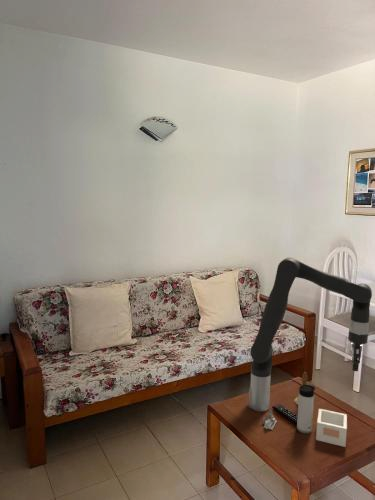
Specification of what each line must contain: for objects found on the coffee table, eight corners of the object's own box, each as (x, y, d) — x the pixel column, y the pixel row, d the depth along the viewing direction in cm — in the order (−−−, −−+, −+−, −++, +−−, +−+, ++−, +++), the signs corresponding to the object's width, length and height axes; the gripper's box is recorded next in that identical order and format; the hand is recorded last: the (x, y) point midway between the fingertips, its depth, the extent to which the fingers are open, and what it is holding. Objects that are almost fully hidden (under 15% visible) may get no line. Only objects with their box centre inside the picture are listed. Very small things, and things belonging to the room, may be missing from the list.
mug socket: (316, 440, 159) (317, 422, 158) (318, 425, 169) (319, 408, 168) (345, 447, 154) (346, 429, 153) (345, 431, 165) (346, 414, 164)
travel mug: (313, 434, 162) (316, 391, 160) (297, 432, 164) (300, 389, 161) (311, 426, 169) (314, 384, 166) (296, 424, 170) (298, 382, 167)
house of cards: (260, 416, 177) (260, 400, 176) (278, 421, 172) (279, 406, 171) (253, 425, 169) (253, 409, 168) (272, 432, 165) (272, 415, 164)
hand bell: (310, 398, 192) (311, 369, 190) (313, 407, 184) (314, 376, 182) (293, 397, 193) (294, 367, 191) (295, 406, 185) (297, 375, 183)
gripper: (348, 324, 169) (345, 358, 171) (349, 334, 155) (345, 371, 158) (367, 326, 166) (363, 361, 168) (369, 337, 153) (365, 375, 155)
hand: (354, 366), depth 163 cm, fingers open, 8 cm apart
